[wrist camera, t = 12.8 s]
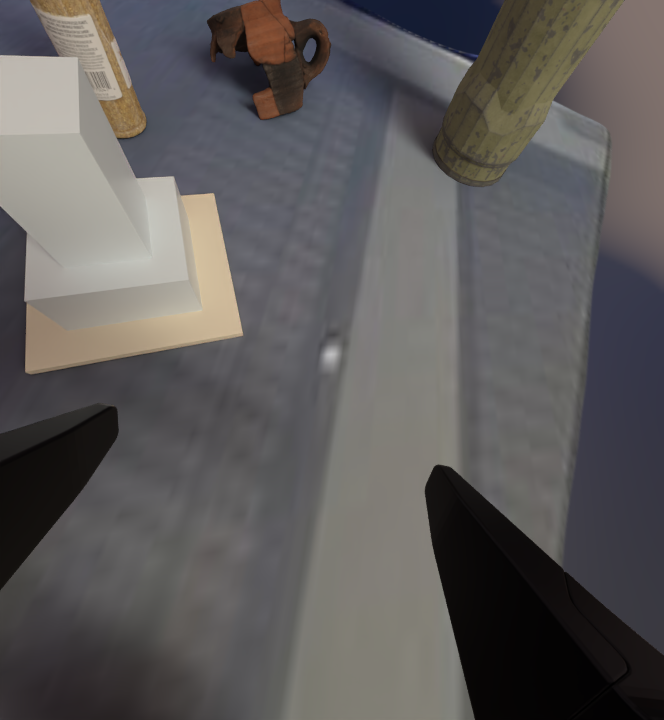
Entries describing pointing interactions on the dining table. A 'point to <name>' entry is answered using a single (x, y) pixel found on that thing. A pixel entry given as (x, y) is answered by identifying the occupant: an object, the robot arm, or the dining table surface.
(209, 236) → the mat
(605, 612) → the robot arm
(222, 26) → the pottery mug
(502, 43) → the thermos
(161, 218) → the cover
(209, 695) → the dining table surface
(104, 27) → the sprinkles bottle
